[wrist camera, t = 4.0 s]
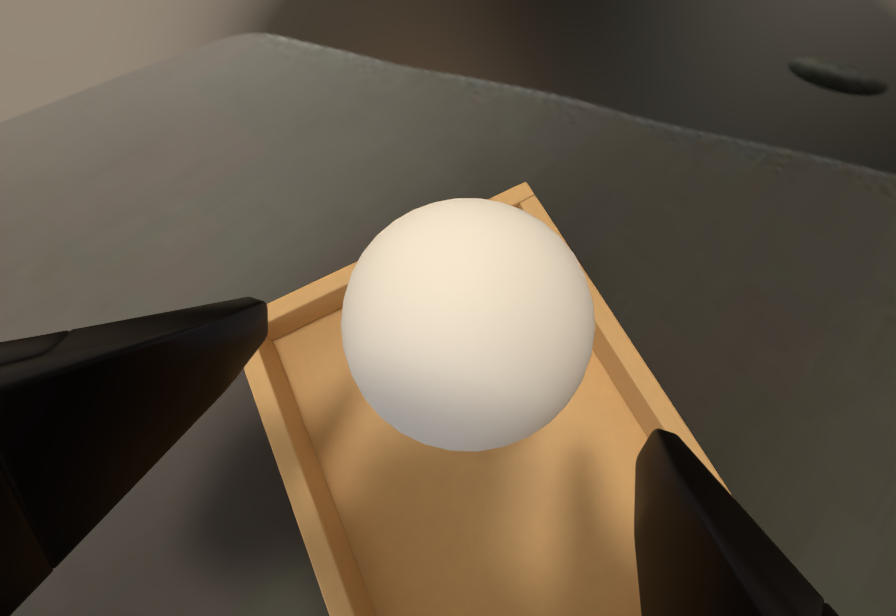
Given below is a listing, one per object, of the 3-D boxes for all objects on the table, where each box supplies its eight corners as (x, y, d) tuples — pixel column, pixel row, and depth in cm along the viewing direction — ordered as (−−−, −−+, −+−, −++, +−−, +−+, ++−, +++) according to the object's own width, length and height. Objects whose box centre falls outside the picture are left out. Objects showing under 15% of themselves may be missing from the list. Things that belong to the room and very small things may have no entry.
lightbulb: (530, 298, 19) (604, 125, 8) (548, 440, 17) (672, 443, 7) (395, 309, 19) (305, 152, 9) (399, 450, 17) (291, 470, 7)
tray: (760, 586, 16) (809, 612, 13) (421, 790, 14) (412, 857, 12) (520, 208, 21) (526, 180, 18) (255, 335, 20) (227, 322, 17)
